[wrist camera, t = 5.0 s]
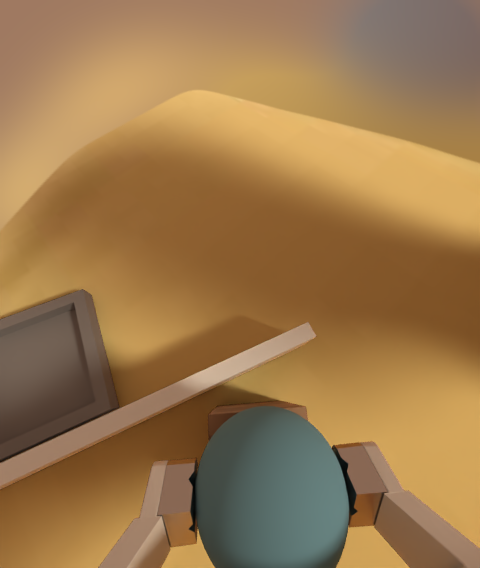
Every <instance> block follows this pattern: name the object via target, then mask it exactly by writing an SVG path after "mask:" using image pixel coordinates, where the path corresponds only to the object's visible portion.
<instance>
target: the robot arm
mask: <svg viewBox="0 0 480 568" xmlns="http://www.w3.org/2000/svg"><path fill="white" fill-rule="evenodd" d="M332 450H333V452H334V454H335V455H336V457H337V460H338V462H339V464H340V467H341V469H342V472H343V476H344V479H345V483H346V488H347V493H348V502H349V524H348V525H349V527H361V526H374V525H375V526H374V527H375V529H376V530H377V531H378V532H379V533H380V534H381V535H382V536H383V538H384V539H385V540H386V541H387V542H388V543H389V544H390V546H391V547H392V548H393V549H394V550H395V551H396V552H397V554H398V555H399V556H400V557H401V558H402V559H403V560H404V561H405V563H406V564H407V565H408V566H409V567H410V568H480V548H478V547H477V546H476V545H475V544H474V543H472V542H471V541H470V540H469V539H467V538H466V537H465V536H464V535H462V534H461V533H460V532H459V531H458V530H456V529H455V528H454V527H453V526H451V525H450V524H449V523H448V522H447V521H445V520H444V519H443V518H442V517H440V516H439V515H438V514H437V513H435V512H434V511H433V510H432V509H431V508H429V507H428V506H427V505H426V504H424V503H423V502H422V501H421V500H419V499H418V498H417V497H416V496H415V495H413V494H412V493H411V492H410V491H404V490H403V488H402V486H401V484H400V483H399V481H398V479H397V478H396V476H395V474H394V473H393V471H392V469H391V468H390V466H389V464H388V462H387V461H386V459H385V457H384V456H383V454H382V452H381V451H380V449H379V447H378V446H377V444H376V443H375V442H372V441H370V442H360V443H359V442H357V443H348V444H339V445H333V446H332ZM197 467H198V462H197V458H190V459H179V460H164V461H155V462H154V463H153V465H152V467H151V472H150V476H149V480H148V484H147V488H146V492H145V496H144V500H143V504H142V509H141V513H140V517H139V518H135V519H134V520H133V521H132V523H131V524H130V525H129V527H128V528H127V530H126V531H125V532H124V534H123V535H122V536H121V538H120V539H119V540H118V542H117V543H116V544H115V546H114V547H113V548H112V550H111V551H110V552H109V554H108V555H107V557H106V558H105V559H104V561H103V562H102V563H101V565H100V566H99V567H98V568H161V567H162V565H163V563H164V561H165V559H166V557H167V555H168V553H169V552H170V547H177V546H184V545H191V544H196V543H197V529H198V525H197V520H196V513H195V496H194V493H195V482H196V477H197Z"/></svg>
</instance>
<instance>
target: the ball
mask: <svg viewBox="0 0 480 568" xmlns="http://www.w3.org/2000/svg"><path fill="white" fill-rule="evenodd" d="M194 496H195V513H196V520H197V525H198V529H199V534H200V537H201V540H202V543H203V545H204V548H205V550H206V552H207V554H208V556H209V558H210V560H211V562H212V563H213V565H214V566H215V568H336V566H337V564H338V562H339V560H340V557H341V555H342V552H343V549H344V546H345V542H346V537H347V533H348V524H349V502H348V493H347V488H346V483H345V479H344V476H343V472H342V469H341V467H340V464H339V462H338V460H337V457H336V455H335V454H334V452H333V450H332V448H331V447H330V445H329V444H328V442H327V441H326V439H325V438H324V437H323V435H322V434H321V433H320V432H319V431H318V430H317V429H316V428H315V427H314V426H313V425H312V424H311V423H309V422H308V421H307V420H306V419H304V418H303V417H301V416H300V415H298V414H296V413H294V412H292V411H290V410H287V409H284V408H280V407H275V406H258V407H253V408H249V409H246V410H243V411H241V412H239V413H237V414H235V415H234V416H232V417H231V418H229V419H228V420H227V421H226V422H224V423H223V424H222V425H221V426H220V427H219V428H218V429H217V431H216V432H215V433H214V435H213V436H212V437H211V439H210V441H209V442H208V444H207V446H206V448H205V450H204V452H203V455H202V457H201V460H200V464H199V467H198V471H197V477H196V482H195V493H194Z"/></svg>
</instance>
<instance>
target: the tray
mask: <svg viewBox="0 0 480 568" xmlns="http://www.w3.org/2000/svg"><path fill="white" fill-rule="evenodd" d="M117 408H119V404H118V400H117V396H116V392H115V388H114V384H113V380H112V376H111V372H110V368H109V364H108V360H107V356H106V352H105V348H104V344H103V339H102V335H101V331H100V327H99V323H98V319H97V315H96V311H95V307H94V303H93V299H92V295H91V294H89V293H88V292H86V291H85V290H83V289H82V290H79V291H76V292H73V293H71V294H68V295H65V296H63V297H60V298H57V299H54V300H52V301H49V302H46V303H44V304H41V305H38V306H35V307H33V308H30V309H27V310H24V311H22V312H19V313H16V314H14V315H11V316H8V317H5V318H3V319H0V462H1V461H4V460H6V459H8V458H10V457H12V456H15V455H17V454H19V453H21V452H23V451H26V450H28V449H30V448H32V447H34V446H36V445H39V444H41V443H43V442H45V441H47V440H50V439H52V438H54V437H56V436H58V435H60V434H63V433H65V432H67V431H69V430H71V429H74V428H76V427H78V426H80V425H82V424H84V423H87V422H89V421H91V420H93V419H95V418H98V417H100V416H102V415H104V414H106V413H108V412H111V411H113V410H115V409H117Z"/></svg>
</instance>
